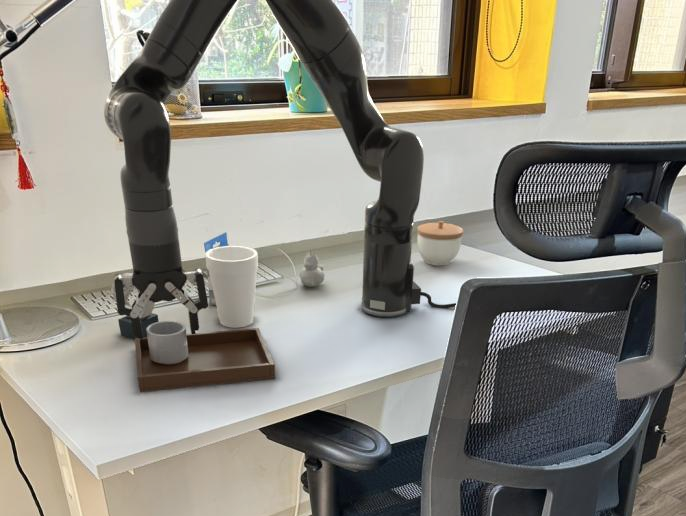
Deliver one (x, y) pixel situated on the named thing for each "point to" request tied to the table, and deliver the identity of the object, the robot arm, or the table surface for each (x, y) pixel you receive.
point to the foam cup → (233, 283)
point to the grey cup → (167, 342)
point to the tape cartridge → (208, 246)
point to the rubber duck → (311, 271)
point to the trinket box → (439, 242)
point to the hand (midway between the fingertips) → (167, 334)
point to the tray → (208, 361)
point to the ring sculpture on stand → (145, 314)
